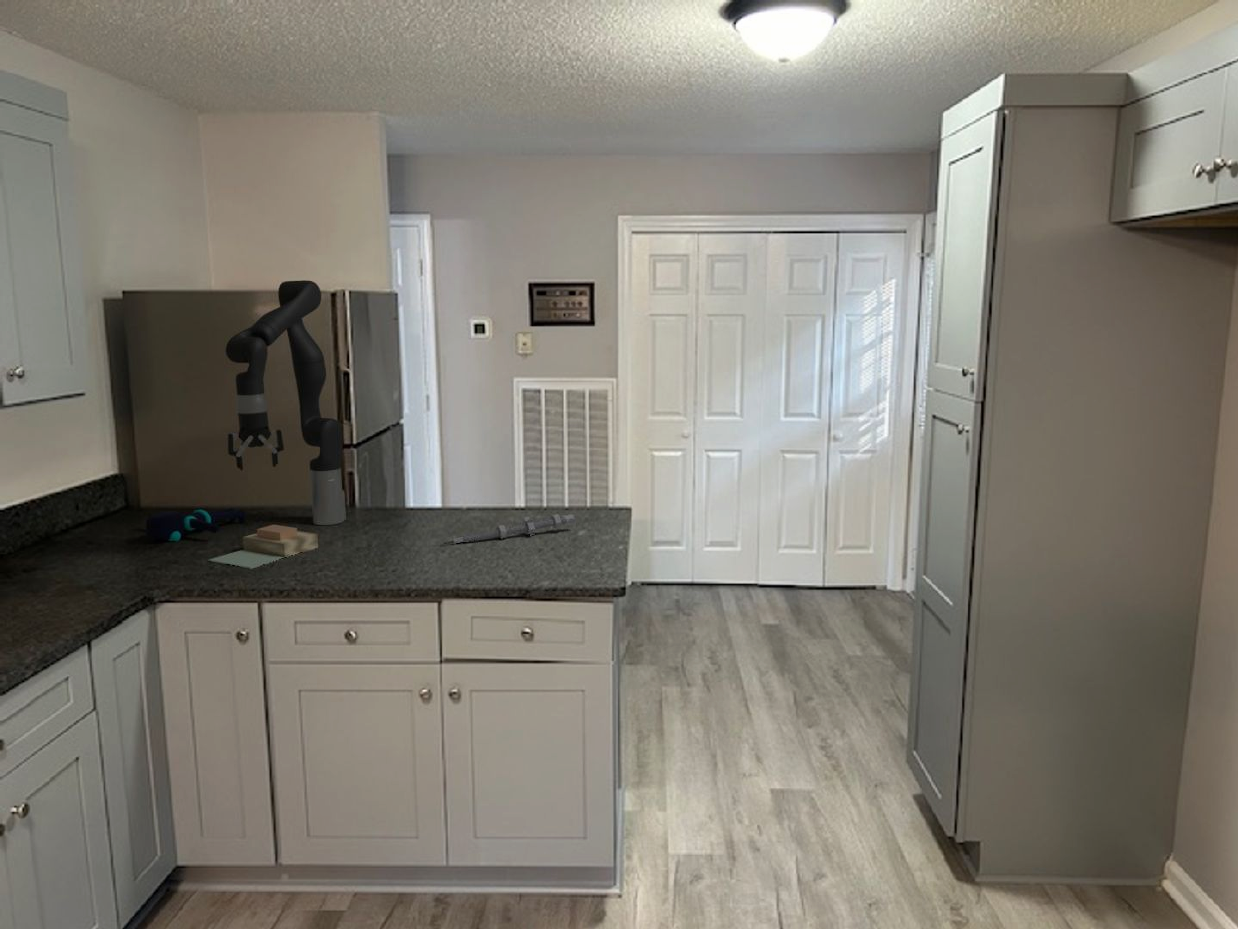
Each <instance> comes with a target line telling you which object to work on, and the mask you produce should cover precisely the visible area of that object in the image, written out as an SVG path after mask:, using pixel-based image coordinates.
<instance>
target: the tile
mask: <svg viewBox="0 0 1238 929" xmlns="http://www.w3.org/2000/svg"><path fill="white" fill-rule="evenodd" d="M297 531H298V528H297V527H292V526H286V525H278V524H270V525H267V526H264V527H259V528H257V529H256V533H257V537H261V538H267V539H274V540H280V541H281V540H285V539H288V538H291V537H295V536H297Z"/></svg>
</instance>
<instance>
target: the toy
mask: <svg viewBox="0 0 1238 929" xmlns="http://www.w3.org/2000/svg"><path fill="white" fill-rule="evenodd" d="M236 519H238V520H239V523H240V524H245V523H246V513H245V511H244V510H243V509H238V510H235V509H234V508H225V509H218V510H212V511H205V510H203V509H196V510H194V511H193V512H190V513H185V514H183V513H182V512H178V511H174V510H167V511H162V512H159V513H154V514H150V515H148V517H147V519H146V522H145V529H146V535H147V537H148V538H150V539H153V540H158V541H166V540H168V541H167V542H172V541H176V542H178V541H180V539H181V538H183V537H185V530H186V531H193V530H195V529H197V530H201V531H202V530H203V531H207V532H210V533H214V534H215V533H217V532H219V531H220V529H221V528H220V526H219V525H217V524H215V523H219V522H223V521H227V520H229V521H230V522H231V521H235V522H236Z"/></svg>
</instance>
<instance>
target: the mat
mask: <svg viewBox="0 0 1238 929" xmlns="http://www.w3.org/2000/svg"><path fill="white" fill-rule="evenodd" d="M281 558H284V557H280V556H274V555H268V554H263V553H257V552H251V551H245V550H244V549H242V550H241V549H240V550H237V551H234V552H231V553H227V554H224V555H219V556H216V557H214V558H210V559H209V558H208V562H210V561H211V563H216V564H217V563H218V564H221V565H226V564H230V565H229V566H232V565H235V566H234V567H237V566H239V567H238V568H243V569H248V570H249V569H250V570H252V569H254V568H258V567H261V565H262V566H264V565H263V564H265V565H268V564H271V563H273V561H274V562H277V561H280V560H279V559H281ZM284 559H285V558H284ZM276 560H277V561H276ZM281 560H282V559H281ZM270 562H271V563H270Z"/></svg>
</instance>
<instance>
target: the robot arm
mask: <svg viewBox="0 0 1238 929" xmlns="http://www.w3.org/2000/svg"><path fill="white" fill-rule="evenodd" d="M277 293H278V294H277V296H278V301H279V302H278V303H279V306H278V307H276V308H274V309H271V311H267V313H265V314H263V315H262V316H261V317H259V319H258V320H256V321H255V322H254V323H253V324H252V325H251V326H249V327H248V328H245V329H244V330H241V331H240V332H238V333H236V334H235V335H233V336H232V337H230V339H229V340H228V341H227V343H226V346H225V355H226V357H227V358H228V359H229V361H231V362H232V363H236V364H248V367H247V370H246V371H244V372H243V371H242V372H239V373H237V374H236V376H235V385H236V386H235V387H236V388H235V389H236V409H237V417H238V418H237V419H238V429H239V430H238V433H237V432H236V433H234V432H233V433H232V432H227V438H226V439H227V453H228V455H229V456H233V457H235V461H236V462H235V464H236V467H237V469H239V471H244V467H243V456H242V454H244V452H245V450H246V449H247V448H255V447H258V448H260V447H261V448H262V447H263V446H266V447H267V449H269V451H270V452H271V453H270V454H271V463H272V464H271V465H272V467H273V468H275V467H277V465H278V463H279V459H278V456H279V455H278V453H279V452H281V451H284V450H285V447H284V442H283V440H284V439H283V435H282V434H283V433H282V430H281V429H280V428H276V429H272V430H270V426H269V416H268V404H267V398H266V395H265V394H266V393H265V384H264V383H265V382H264V378H265V377H264V376H265V372H266V366H267V365H266V364H267V360H268V354H269V352H268V347H270V346H271V345H273V344H274V343H275V341H276V340H278V339H279V337H281V335H282V334H284V333H285V331H286V333H287V337H288V338H287V339H288V343H289V347H290V348H289V350H290V354H291V361H292V362H291V363H292V368H293V373H294V377H295V383H296V387H297V396H298V397H297V398H298V404H299V416H300V418H299V419H300V428H301V434H302V435H301V436H302V438H303V440H304V442H305V444H306V445H308V446H310V447H316V448H319V454H318V456H317V457H314V458H312V459H311V460H310V461H309V475H310V490H311V491H310V492H311V505H312V506H311V507H312V508H311V509H312V521H313V524H314V525H318V526H331V525H337V524H342V523H344V521H346V520H347V513H346V511H347V510H346V496H345V491H344V489H343V486H342V485H343V484H342V468H341V467H342V465H341V463H342V461H343V453H344V452H343V429H342V426H341V423H340V422H339V421H338V420H337V419H335V418H330V417H322V416H321V415H322V414H321V411H320V398H321V397H320V396H321V393H322V390H323V387H324V386H325V383H326V379H327V369H326V363H325V357H324V353H323V351H322V350H321V348H320V346H319V344H318V343H317V342H316V341H315V339H314V338H313V337H312V336H311V334H310V333H309V332H308V330H307V329H306V327H305V324H304V322H303V321H304V320H303V318H304V317H306V316H308V315H309V314H311V313H312V312H314V311H315V310H317V309H318V308H319V307H320V305H321V302H322V292H321V289H320V287H319V285H318V284H317V283H316V282H314V281H313V280H288V281H287V280H286V281H285V280H284V281H282V282H281V283H280V284H279V288H278V292H277ZM271 435H272V436H273V437H274V438H275V439H276V443H277V446H275V447H274V445H273V444H272V443H271V442H270V441H269V439H270V437H271ZM237 438H239V439H240V440H241V441H242V442H241V443H240V445H239V446H238V448H237V449H236V450H234V442H235V441H236V440H237Z"/></svg>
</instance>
